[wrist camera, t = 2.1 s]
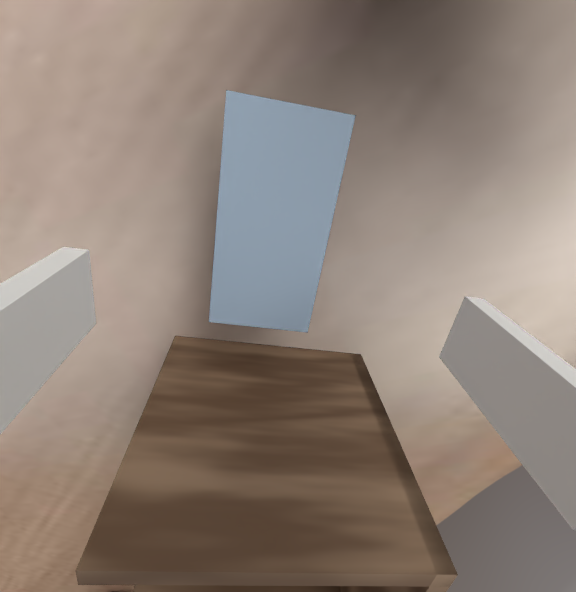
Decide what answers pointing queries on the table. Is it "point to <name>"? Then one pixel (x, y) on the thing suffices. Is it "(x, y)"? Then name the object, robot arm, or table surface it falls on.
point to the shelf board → (274, 209)
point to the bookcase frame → (265, 482)
